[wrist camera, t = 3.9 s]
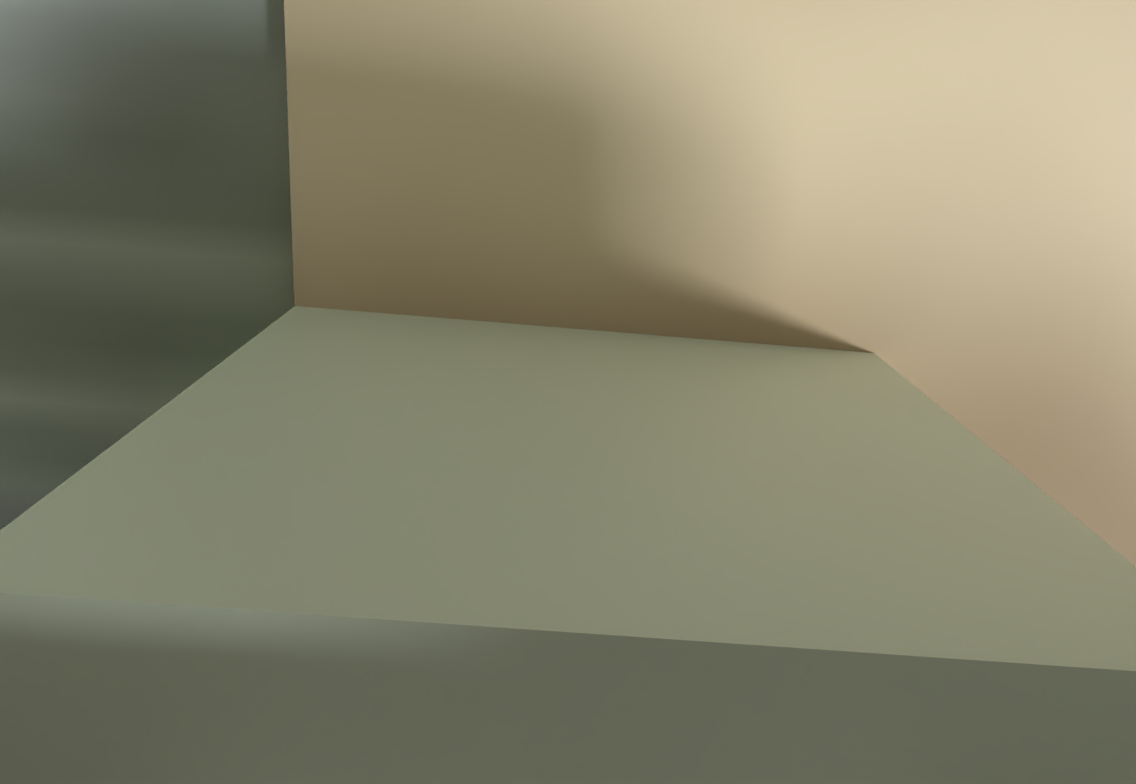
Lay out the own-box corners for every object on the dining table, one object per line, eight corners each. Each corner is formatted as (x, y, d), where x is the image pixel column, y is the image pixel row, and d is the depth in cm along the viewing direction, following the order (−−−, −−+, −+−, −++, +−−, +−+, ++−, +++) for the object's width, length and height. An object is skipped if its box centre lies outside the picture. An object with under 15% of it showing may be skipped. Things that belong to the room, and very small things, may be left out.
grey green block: (774, 790, 10) (948, 1364, 6) (310, 762, 10) (92, 1329, 5) (873, 352, 8) (1275, 680, 4) (295, 305, 8) (-77, 587, 3)
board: (1490, 1025, 12) (1508, 1043, 12) (320, 962, 12) (316, 980, 11) (2390, -208, 7) (2453, -218, 7) (276, -445, 6) (265, -463, 6)
